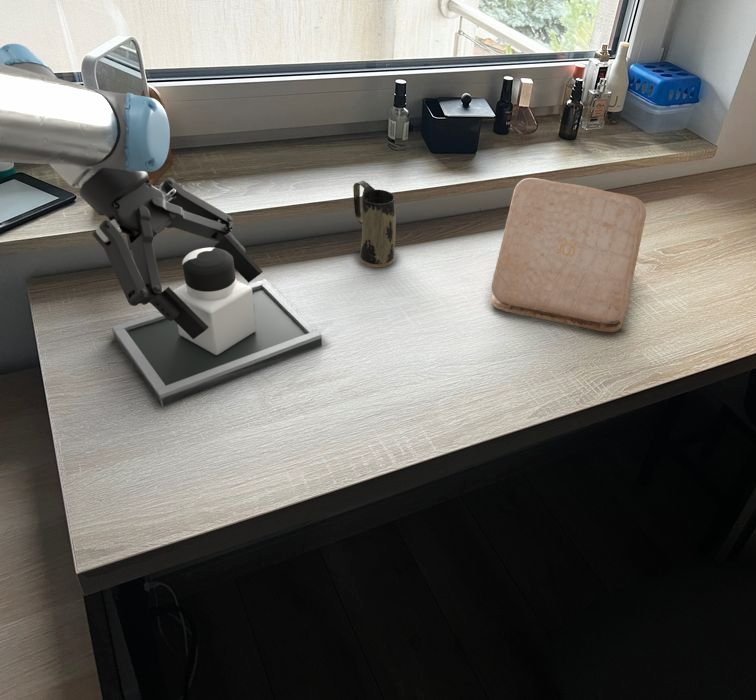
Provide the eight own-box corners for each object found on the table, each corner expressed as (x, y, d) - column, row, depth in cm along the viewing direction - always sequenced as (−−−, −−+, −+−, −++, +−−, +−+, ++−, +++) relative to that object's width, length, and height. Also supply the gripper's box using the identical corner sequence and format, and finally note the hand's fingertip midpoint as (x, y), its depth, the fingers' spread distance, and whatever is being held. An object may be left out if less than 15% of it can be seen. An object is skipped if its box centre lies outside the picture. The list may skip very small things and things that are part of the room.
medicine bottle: (257, 331, 98) (249, 254, 90) (216, 357, 93) (205, 278, 85) (220, 311, 100) (209, 235, 93) (178, 335, 95) (163, 257, 88)
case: (484, 312, 109) (498, 217, 99) (511, 246, 125) (524, 159, 115) (619, 342, 106) (646, 247, 96) (628, 270, 123) (652, 183, 113)
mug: (401, 260, 118) (404, 193, 111) (376, 271, 115) (378, 203, 107) (368, 240, 122) (369, 174, 115) (343, 251, 118) (342, 184, 111)
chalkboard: (162, 407, 87) (159, 394, 86) (114, 338, 96) (111, 326, 95) (322, 345, 99) (321, 334, 98) (266, 289, 108) (265, 278, 107)
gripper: (148, 149, 97) (259, 268, 104) (9, 233, 78) (157, 372, 85) (178, 118, 93) (291, 244, 100) (39, 199, 74) (191, 348, 81)
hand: (230, 303), depth 93 cm, fingers open, 13 cm apart
